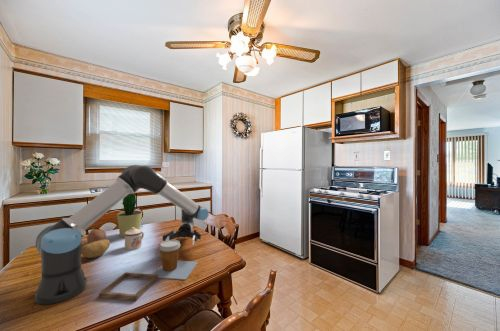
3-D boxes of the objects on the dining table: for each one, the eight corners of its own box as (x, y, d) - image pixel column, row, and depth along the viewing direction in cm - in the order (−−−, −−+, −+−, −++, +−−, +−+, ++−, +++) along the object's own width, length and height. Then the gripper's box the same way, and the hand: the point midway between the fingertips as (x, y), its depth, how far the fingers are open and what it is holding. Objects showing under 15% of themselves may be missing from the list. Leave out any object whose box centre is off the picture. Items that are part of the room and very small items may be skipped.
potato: (115, 252, 120) (115, 238, 120) (89, 263, 107) (89, 247, 106) (102, 249, 123) (102, 235, 123) (75, 260, 110) (75, 244, 110)
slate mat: (150, 277, 95) (150, 276, 95) (168, 260, 111) (168, 259, 111) (185, 280, 93) (185, 279, 93) (198, 262, 109) (198, 261, 109)
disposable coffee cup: (184, 267, 104) (184, 242, 103) (166, 275, 96) (167, 249, 96) (172, 261, 109) (172, 237, 109) (154, 268, 101) (155, 243, 101)
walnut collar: (98, 297, 81) (98, 293, 81) (125, 276, 96) (125, 272, 96) (136, 301, 79) (136, 296, 79) (157, 278, 94) (157, 274, 94)
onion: (90, 248, 132) (85, 233, 133) (108, 241, 137) (103, 226, 138) (89, 248, 124) (83, 231, 125) (107, 240, 129) (102, 224, 130)
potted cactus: (146, 234, 149) (146, 191, 148) (121, 240, 137) (121, 193, 136) (137, 229, 159) (137, 188, 158) (113, 234, 147) (113, 190, 147)
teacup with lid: (132, 251, 121) (132, 230, 121) (120, 248, 124) (120, 228, 124) (149, 243, 133) (149, 224, 132) (137, 241, 136) (137, 223, 135)
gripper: (205, 234, 134) (204, 248, 113) (163, 236, 130) (154, 251, 109) (206, 222, 134) (204, 234, 113) (164, 224, 130) (154, 236, 109)
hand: (179, 242), depth 111 cm, fingers open, 13 cm apart
